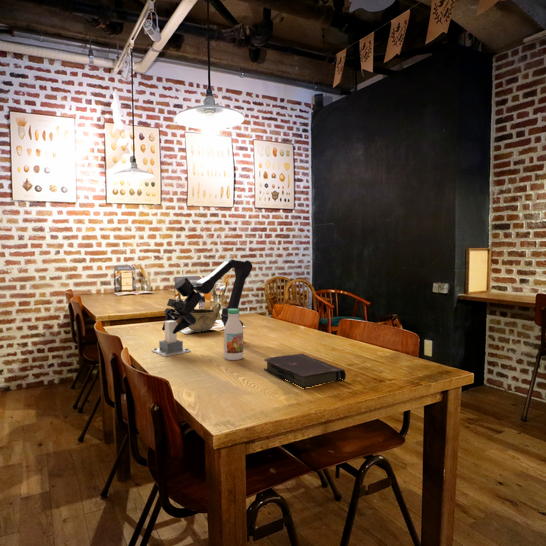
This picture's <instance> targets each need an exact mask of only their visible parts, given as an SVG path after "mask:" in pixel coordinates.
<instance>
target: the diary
mask: <svg viewBox="0 0 546 546" xmlns="http://www.w3.org/2000/svg"><path fill="white" fill-rule="evenodd" d="M263 361H264V362H266V368H264V367H263V370H264V371H265V372H267V373H268V374H270V375H272V374H273V375H272V376H274V375H275V377H276V378H278V379H281V380H282V381H284V382H286V381H285V379H286V380H288V381H290V382H292V383H294V384H296V385H298V386H300V387H302V388H304V390H306V389H305V388H306V387H312V386H315V385H319V384H323V383H327V384H329V383H328V382H332V381H336V380H339V381H341V380H340V378H341V379H343V380H345V381H346V378H347V377H346V375H347V374H346V373H347V372H346V371H345V369H344V368H341V367H338V366H334V365H332V364H329V363H327V362H325V361H323V360H319V359H316V358H315V357H314V358H313V357H311V356H308V355H307V354H304V353H298V354H297V353H296V354H289V355H279V356H278V355H277V356H272V357H267V358H264V359H263ZM288 381H287V382H288ZM290 382H289V383H290ZM336 382H337V381H336ZM292 383H291V384H292ZM332 383H333V382H332ZM323 385H324V384H323Z"/></svg>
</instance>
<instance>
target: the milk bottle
mask: <svg viewBox="0 0 546 546" xmlns="http://www.w3.org/2000/svg"><path fill="white" fill-rule="evenodd" d="M239 319H240V309H239V308H238V309H228V321H227V323H226V325H225V326H224V331H223V343H224V344H223V352H224V353H223V355H224V359H225V360H229V361H238V360H241V359H244V328H243V327H244V326H243V327H242V324H241V322H240V320H241V319H240V320H239Z"/></svg>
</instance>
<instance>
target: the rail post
mask: <svg viewBox="0 0 546 546" xmlns="http://www.w3.org/2000/svg"><path fill="white" fill-rule="evenodd" d="M177 321H178V320H176V321H174V320H170V321H165V320H164V322H165V330H164V340H165V342H166V343H173V342H177V340H178V335H177V334H178V332H177V333H175V334H173V330H174V329H175V327H176V326H177V324H178V322H177Z"/></svg>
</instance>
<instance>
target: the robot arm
mask: <svg viewBox="0 0 546 546" xmlns="http://www.w3.org/2000/svg"><path fill="white" fill-rule="evenodd" d="M232 269H234V274H235V277H234V278H235V279H234V282H233V286H232V289H231V294H230V297H229V300H228V304H227V306H226V307H223V308H221V309H222V311H221V314H220V317H221V318H220V320H221V322H222V323H223V327H225V325H226V323H227V321H228V309H239V306H240V301H241V299H242V295H243V289H244V287H245V283H246V279H247V278H248V277H249V276H250V275H251V272H252V270H253V264H252V262H251V260H247V259H246V260H245V259H239V260H236V259H234V258H227V259H225V260H224V262H222V263H221V264H220V265H219V266H217V268H215V269H214V270H213V271H212V272H211V273H210V274H207V276H205V277H202V278H200V279H198V280H197V281H196V282H195V283H191V281H190V280H189V279H188V277H185V276H184V277H183V278H181V279H180V280H178V281H177V282H176V283H175V284H174V286H173V288H174V289H175V291H177V292H178V293H179V295H180V296H182V297H183V298H185V299H184V300H183V299H181V298H177V299H174V298H169V299H168V301H167V304H166V306H167V308H166V309H164V311H163V313H164V315H165V320H164V323H163V325H162V328H161V331H164V332H165V321H170V320H174V321H178V322H177V326H176V327H175V329H174V330H173V334H175V333H177V334H178V333H179V332H181V331H183V330H184V329H187V328H188V327H189V326H191V325H194V324H195V323H196V318H195V317H194V316H193V315H192V314H191V312H192V311H193V312H194V311H195V309H196V307H197V306H198V305H199V303H201V302H202V303H206V299H205V298H206V296H205V295H208V294H209V293H211V291H213V289H214V288H215V285H216V283H217V282H218V281H220V280H221V278H223V277H224V276H225V275H226V274H227V273H229V271H231V270H232ZM202 294H204V295H202ZM239 320H240V322H241V324H242V327H244V322H242V320H241V319H240V318H239Z"/></svg>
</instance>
